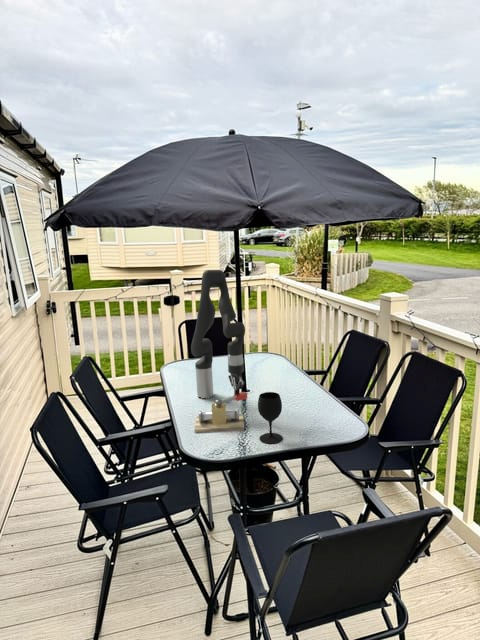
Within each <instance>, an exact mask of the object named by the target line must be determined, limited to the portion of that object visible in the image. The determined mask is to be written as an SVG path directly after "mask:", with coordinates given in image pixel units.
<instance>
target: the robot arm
mask: <svg viewBox="0 0 480 640" xmlns="http://www.w3.org/2000/svg"><path fill="white" fill-rule="evenodd" d="M201 276H202V277H201V286H200V287H201V289H200V299H199V304H198V310H197V315H196V316H197V317H196V324H195V328H194V329H195V330H194V333H193V336H192V341H191V344H190V352H191V354H192V356H193V357H198V358H199V357H200V358H199V359H198V360H197V361H195V378H196V395H198V396H197V398H198V397H201V398H200V399H202V398H206V399H209V398H208V397H211V398H213V397H214V396H213V395H214V382H213V381H214V380H213V343H212V341H211V340H210V339H209V338H208V337H207V338H205V335H206V333H207V332H208V330H210V328H211V327H212V326H213V324H214V322H215V321H214V320H215V316H216V307H215V305H214V303H213V301H212V298H211V295H210V293H211V292H210V291H211V288H212V289H216V288H218V289H219V291H220V296H219V300H218V304H217V305H218V306H217V307H218V311H219V315H220V316H221V319H222V331H223V335H224V336H225V337H226V338H227V339H232V338H235V339H233V340H231V341H229V342H228V343H227V368H228V369H227V371H228V373H229V375H228V379H229V382H230V385H231V387H232V388H233V391H234V393H233V395H234V394H238V393H241V391H240V390H242V389H243V387H244V385H245V382H246V381H245V380H243V376H242V373H244V357H243V343H244V339H245V334H246V328H245V325H244V323H243V322H241V321H238V322H233V321H234V320H235V319H236V318H237V314H236V311H235V308H234V307H233V304H232V301H231V297H230V292H229V288H228V283H227V279H226V275H225V273H224V271H223V270H221V269H206V270H204V271H203V273H202V275H201ZM212 396H213V397H212Z"/></svg>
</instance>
